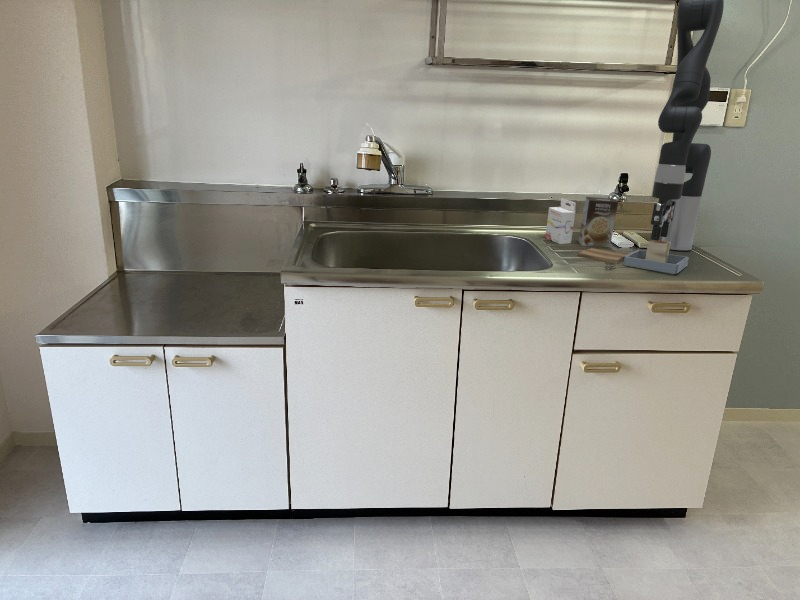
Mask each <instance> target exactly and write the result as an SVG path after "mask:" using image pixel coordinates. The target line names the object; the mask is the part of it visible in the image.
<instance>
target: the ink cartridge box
mask: <svg viewBox="0 0 800 600" xmlns="http://www.w3.org/2000/svg"><path fill="white" fill-rule="evenodd" d="M567 204H568V205H567ZM576 205H577V203H576V202H575V201H572V200H569V199H565V198H563V197H562V198H560V206H554V207H553V206H552V207H551V206H550V207H548V213H547V221H546V229H545V236H544V239H546V238H547V239H546V240H548V241H551V240H552V242H554V243H557V244H559V245H565V244H571V243H572V238H573V233H574V232H573V231H574V224H575V218H576V209H577V208H576Z"/></svg>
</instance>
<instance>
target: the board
mask: <svg viewBox="0 0 800 600" xmlns="http://www.w3.org/2000/svg"><path fill="white" fill-rule="evenodd" d="M628 254H629V253H627V252H622V251H621V252H620V251H615V250H607V249H602V248H601V249H600V248H594V247H590V248H587V249H585V250H582V251H580V252H578V253H577V254H576V257H580V258H584V259H590V260H593V261H600V262H604V263H609V264H616V265H618V264H619V263H621V262H624V258H625V256H626V255H628Z"/></svg>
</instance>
